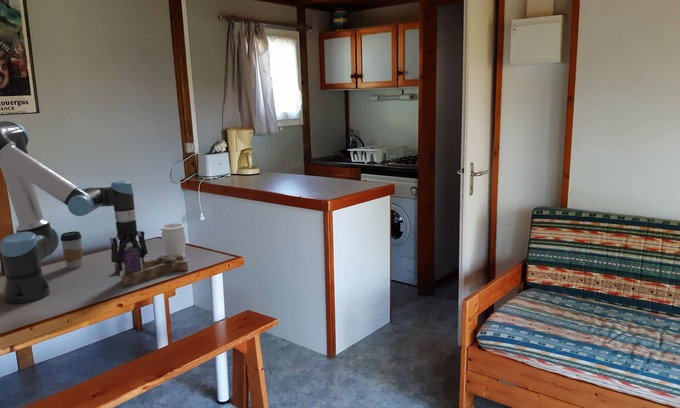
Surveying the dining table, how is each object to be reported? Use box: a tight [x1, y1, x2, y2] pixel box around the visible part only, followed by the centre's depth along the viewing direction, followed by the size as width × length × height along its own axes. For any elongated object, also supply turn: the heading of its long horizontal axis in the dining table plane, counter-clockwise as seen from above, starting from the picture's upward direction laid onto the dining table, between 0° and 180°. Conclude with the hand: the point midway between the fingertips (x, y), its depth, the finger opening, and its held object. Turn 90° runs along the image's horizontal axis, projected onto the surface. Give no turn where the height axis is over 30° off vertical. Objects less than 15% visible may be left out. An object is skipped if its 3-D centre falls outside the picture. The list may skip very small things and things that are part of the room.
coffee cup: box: [59, 230, 84, 270], centre depth 230 cm, size 8×8×15 cm
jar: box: [160, 222, 187, 259], centre depth 238 cm, size 11×10×15 cm
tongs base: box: [120, 255, 184, 288], centre depth 217 cm, size 30×6×4 cm, turn 143°
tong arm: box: [114, 254, 189, 273], centre depth 222 cm, size 30×6×5 cm, turn 98°
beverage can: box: [122, 245, 141, 275], centre depth 212 cm, size 7×7×12 cm
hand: (132, 275), depth 213 cm, fingers closed on beverage can, 7 cm apart
